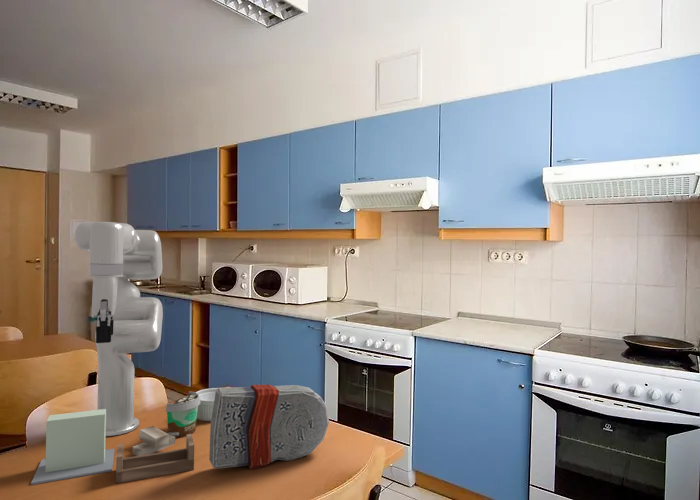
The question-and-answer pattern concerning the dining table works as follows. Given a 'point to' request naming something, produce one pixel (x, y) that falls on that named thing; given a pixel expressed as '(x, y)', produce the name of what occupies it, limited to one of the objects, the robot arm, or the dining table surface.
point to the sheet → (75, 439)
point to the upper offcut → (154, 436)
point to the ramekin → (206, 404)
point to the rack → (154, 463)
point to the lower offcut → (150, 447)
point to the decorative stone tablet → (265, 425)
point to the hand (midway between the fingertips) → (104, 338)
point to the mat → (73, 470)
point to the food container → (183, 415)
